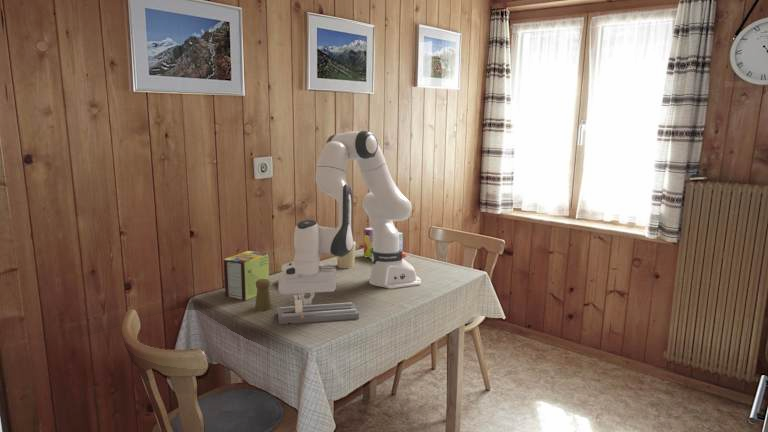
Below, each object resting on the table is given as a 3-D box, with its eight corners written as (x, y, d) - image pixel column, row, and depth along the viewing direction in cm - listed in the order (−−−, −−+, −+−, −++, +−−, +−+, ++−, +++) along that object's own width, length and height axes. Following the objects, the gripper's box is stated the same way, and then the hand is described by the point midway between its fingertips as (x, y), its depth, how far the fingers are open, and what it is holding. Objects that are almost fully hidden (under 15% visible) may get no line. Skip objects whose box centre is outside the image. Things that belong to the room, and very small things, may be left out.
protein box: (269, 289, 222) (269, 253, 219) (245, 301, 208) (244, 262, 205) (249, 286, 226) (248, 250, 224) (224, 297, 213) (222, 259, 210)
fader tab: (301, 308, 195) (301, 294, 194) (302, 313, 190) (302, 299, 189) (294, 308, 194) (294, 295, 193) (295, 313, 190) (295, 299, 189)
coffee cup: (338, 263, 262) (338, 239, 260) (357, 264, 261) (357, 240, 259) (334, 268, 253) (334, 243, 251) (353, 269, 252) (353, 244, 250)
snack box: (403, 262, 266) (403, 232, 263) (396, 264, 262) (396, 234, 259) (369, 255, 279) (370, 226, 276) (362, 257, 275) (363, 228, 272)
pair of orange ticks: (300, 306, 198) (300, 305, 198) (303, 317, 187) (303, 316, 187) (298, 306, 198) (298, 305, 198) (301, 317, 187) (301, 316, 187)
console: (353, 307, 203) (353, 300, 202) (358, 318, 192) (359, 311, 192) (277, 313, 196) (277, 305, 196) (278, 324, 186) (278, 316, 185)
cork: (256, 305, 204) (255, 277, 202) (272, 304, 205) (271, 277, 203) (254, 310, 198) (253, 282, 196) (270, 310, 199) (269, 281, 197)
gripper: (335, 263, 195) (335, 299, 198) (277, 265, 191) (278, 302, 193) (337, 267, 189) (337, 305, 192) (278, 270, 185) (279, 309, 187)
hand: (307, 304), depth 192 cm, fingers closed
